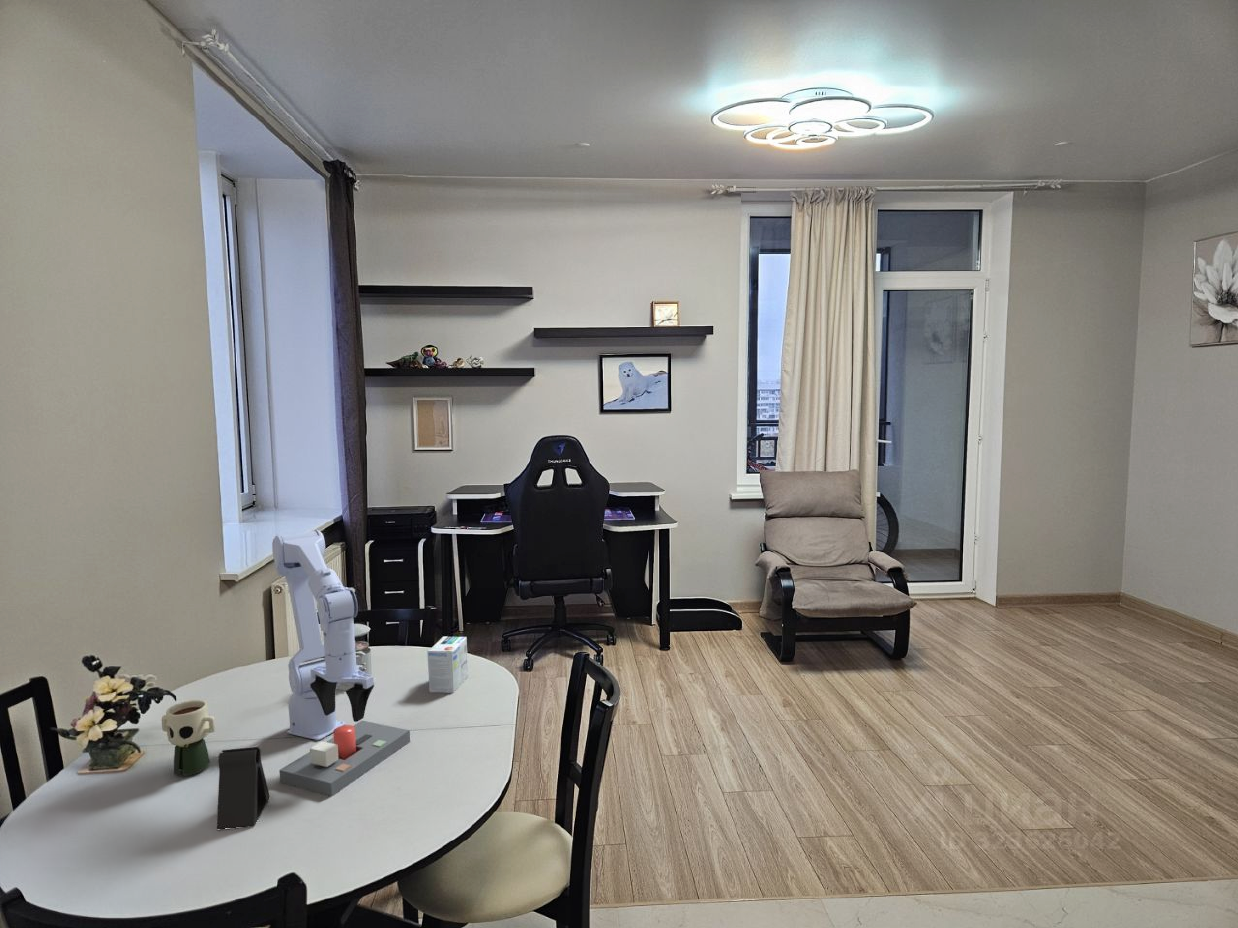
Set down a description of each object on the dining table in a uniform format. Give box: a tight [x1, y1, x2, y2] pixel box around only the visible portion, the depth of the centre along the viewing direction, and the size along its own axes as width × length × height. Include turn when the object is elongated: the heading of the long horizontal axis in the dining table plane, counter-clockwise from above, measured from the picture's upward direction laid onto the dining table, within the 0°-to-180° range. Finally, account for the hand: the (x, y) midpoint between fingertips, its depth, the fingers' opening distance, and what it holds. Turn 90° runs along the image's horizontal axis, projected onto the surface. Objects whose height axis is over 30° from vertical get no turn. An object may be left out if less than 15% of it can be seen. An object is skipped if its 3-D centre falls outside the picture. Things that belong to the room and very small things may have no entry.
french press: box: [337, 587, 378, 691], centre depth 183 cm, size 10×12×25 cm
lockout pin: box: [332, 724, 356, 760], centre depth 144 cm, size 4×4×7 cm
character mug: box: [161, 699, 216, 776], centre depth 142 cm, size 11×7×13 cm, turn 85°
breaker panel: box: [279, 720, 411, 797], centre depth 145 cm, size 13×22×3 cm, turn 157°
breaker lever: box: [309, 740, 338, 767], centre depth 139 cm, size 4×3×3 cm
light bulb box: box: [427, 636, 469, 694], centre depth 182 cm, size 11×7×11 cm, turn 172°
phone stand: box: [216, 746, 271, 830], centre depth 127 cm, size 9×6×12 cm, turn 10°
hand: (344, 716), depth 144 cm, fingers open, 7 cm apart
